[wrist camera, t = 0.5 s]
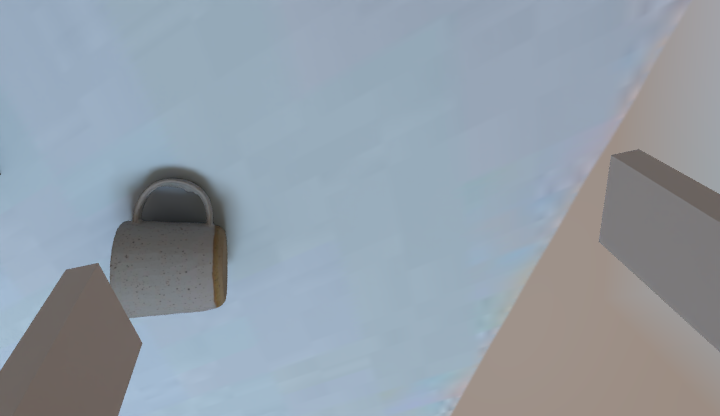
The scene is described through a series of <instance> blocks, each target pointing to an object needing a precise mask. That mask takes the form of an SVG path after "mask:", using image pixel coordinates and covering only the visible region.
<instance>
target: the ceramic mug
mask: <svg viewBox="0 0 720 416" xmlns="http://www.w3.org/2000/svg"><path fill="white" fill-rule="evenodd" d="M162 186H168V187H177V188H182V189H184V190H185V191H187V192H194V193H195V194H197V195H199V196H200V198H201V200H202V201H203V203H204V204H205V209H206V214H207V222H206V223H196V222H195V223H194V222H193V223H185V222H182V223H175V222H159V221H158V222H157V221H143V220H142V219H141V216H142V211H143V207H144V204H145V202H146V200H147V198H148V196H149V195H150V193H151V192H152V191H154V190H155V189H157V188H158V187H162ZM110 285H111V287H112V289H113V291H114V293H115V294H116V296H117V298H118V300H119V302H120V303H121V305H122V307H123V309H124V311H125V313H126V314H127V316H128V318H135V317H144V316H156V315H167V314H176V313H190V312H200V311H206V310H210V309H214V308H217V307H219V306H221V305H222V304H223V303H224V302H225V300H226V294H227V240H226V234H225V231H224V230H223V229H222V228H221V227H220V226H217V225H214V224H213V210H212V206H211V202H210V200H209V198H208V196H207V194H206V193H205V192H204V190H203V189H202V188H200V187H199V186H198V185H196V184H194V183H193V182H191V181H188V180H185V179H178V178H171V179H162V180H159V181H156V182H154V183H152V184H151V185H150V186H149V187H147V188H146V189H145V190H144V191H143V193H142V194H141V195H140V197H139V199H138V201H137V204H136V206H135V210H134V214H133V220H132V221H125V222H123V223H122V224H121V225H120V226H119V228H118V229H117V231H116V235H115V237H114V241H113V246H112V253H111V261H110Z"/></svg>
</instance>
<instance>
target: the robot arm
mask: <svg viewBox="0 0 720 416" xmlns="http://www.w3.org/2000/svg"><path fill="white" fill-rule="evenodd" d="M599 242H600V243H601V244H602V245H603V246H604V247H605V248H606V249H608V250H609V251H610V252H611V253H612V254H613V255H614V256H615V257H616V258H617V259H618V260H620V261H621V262H622V263H623V264H624V265H625V266H626V267H627V268H628V269H629V270H630V271H632V272H633V273H634V274H635V275H636V276H637V277H638V278H639V279H640V280H641V281H643V282H644V283H645V284H646V285H647V286H648V287H649V288H650V289H651V290H652V291H654V292H655V293H656V294H657V295H658V296H659V297H660V298H661V299H662V300H663V301H664V302H666V303H667V304H668V305H669V306H670V307H671V308H672V309H673V310H674V311H675V312H677V313H678V314H679V315H680V316H681V317H682V318H683V319H684V320H685V321H686V322H688V323H689V324H690V325H691V326H692V327H693V328H694V329H695V330H696V331H697V332H699V333H700V334H701V335H702V336H703V337H704V338H705V339H706V340H707V341H708V342H709V343H711V344H712V345H713V346H714V347H715V348H716V349H717V350H718V351H719V352H720V194H718V193H717V192H714V191H713V190H711V189H709V188H708V187H705V186H704V185H702V184H700V183H699V182H696V181H695V180H693V179H691V178H690V177H688V176H686V175H684V174H682V173H681V172H679V171H677V170H675V169H673V168H672V167H670V166H668V165H666V164H664V163H663V162H661V161H659V160H657V159H656V158H654V157H652V156H650V155H648V154H646V153H645V152H643V151H641V150H639V149H638V150H633V151H628V152H624V153H619V154H614V155H611V160H610V167H609V174H608V181H607V189H606V195H605V202H604V209H603V216H602V223H601V230H600V237H599ZM141 346H142V342H141V340H140V338H139V336H138V334H137V333H136V331H135V329H134V327H133V325H132V323H131V322H130V320H129V318H128V316H127V314H126V313H125V311H124V309H123V307H122V305H121V303H120V302H119V300H118V298H117V296H116V294H115V293H114V291H113V289H112V287H111V285H110V283H109V282H108V280H107V278H106V276H105V274H104V273H103V271H102V269H101V267H100V265H99V263H96V264H91V265H86V266H82V267H77V268H72V269H67V270H66V271H65V272H64V274H63V275H62V277H61V278H60V280H59V281H58V283H57V284H56V286H55V287H54V289H53V291H52V292H51V294H50V295H49V297H48V298H47V300H46V301H45V303H44V304H43V306H42V307H41V309H40V311H39V312H38V314H37V315H36V317H35V318H34V320H33V321H32V323H31V324H30V326H29V328H28V329H27V331H26V332H25V334H24V335H23V337H22V338H21V340H20V341H19V343H18V344H17V346H16V348H15V349H14V351H13V352H12V354H11V355H10V357H9V358H8V360H7V361H6V363H5V364H4V366H3V368H2V369H1V371H0V416H118V414H119V411H120V408H121V405H122V402H123V399H124V396H125V393H126V390H127V387H128V384H129V381H130V378H131V375H132V372H133V369H134V366H135V363H136V360H137V357H138V354H139V351H140V348H141Z"/></svg>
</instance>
